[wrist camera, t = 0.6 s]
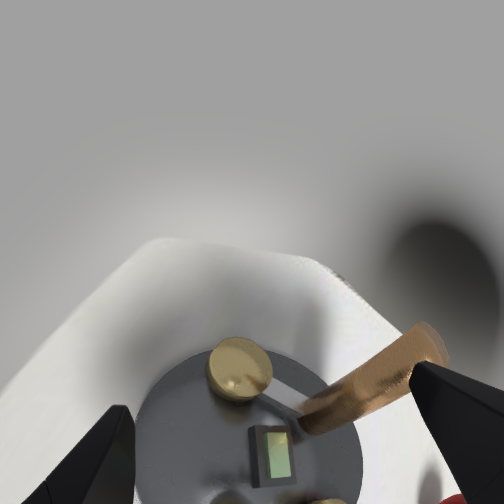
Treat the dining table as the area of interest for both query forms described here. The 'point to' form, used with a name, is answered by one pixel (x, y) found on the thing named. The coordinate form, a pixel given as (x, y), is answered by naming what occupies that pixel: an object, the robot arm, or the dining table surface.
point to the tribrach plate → (239, 445)
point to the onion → (454, 500)
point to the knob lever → (334, 396)
